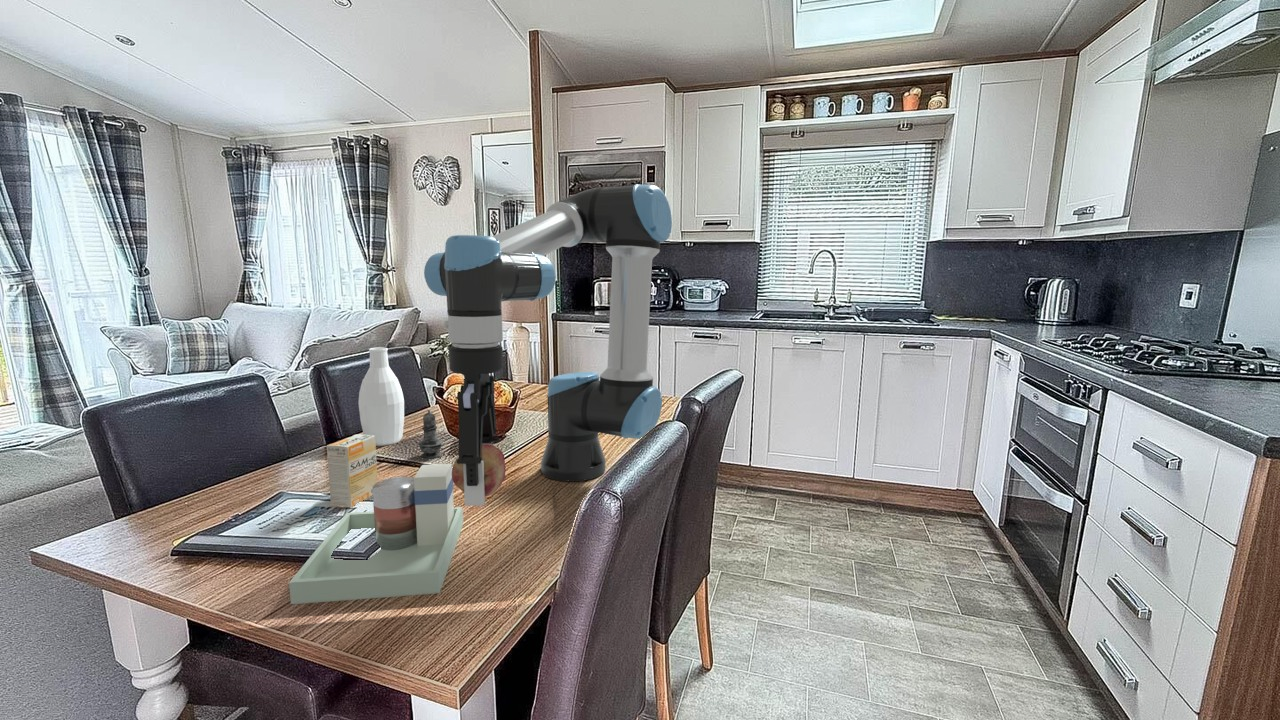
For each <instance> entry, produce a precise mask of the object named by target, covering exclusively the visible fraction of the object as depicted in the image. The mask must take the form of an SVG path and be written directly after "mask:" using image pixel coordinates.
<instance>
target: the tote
mask: <svg viewBox="0 0 1280 720" xmlns="http://www.w3.org/2000/svg"><path fill="white" fill-rule="evenodd" d="M463 512H464V511H463V506H457V507H455V506H454V519H453V522H452V524H451V527H450V529H449V532H448V535H447V537H446V540H445V543H444V544H441V545H425V546H417V543H416V544H414V545H412V546H410V547H408V548H404V549H400V550H382V549H381V550H380V551H379V552H378V553H376V554H375V555H374V556H372V557H371V558H369V559H368V560H343V559H334V558H331V555H332V553H333V551H334V549H335V548H336V547H337V545H339V543H340V542H341V541H342V539H343V538H344V537H345V536H346V535H347V534H348V533H349V531H350V530H351V529H361V528H375V521H374V511H361V512H360V511H359V512H357V511H356V512H347V513H345V515H344V516H343V517H342V518H341V519H340V520H339V522H338V523H337V524H336V525H335V526H334V527H333V529H331V531H330V533H329V534H328V535H327V536H326V538H325V539H324V540H323V541H322V542H321V544H320V545H319V546H318V547H317V548H316V550H315V551H314V552H313V553H312V554H311V555H310V556H309V558H308V559H307V560H306V562H305V563H304V564H303V565H302V566H301V567H300V569H299V570H298V571H297V572H296V574H295V575H294V576H293V577H292V578H291V580H290V581H289V582H288V587H289V598H290V605H300V604H303V605H304V604H312V603H314V604H316V603H327V602H339V601H340V602H342V601H351V600H352V601H354V600H365V599H368V600H369V599H381V598H394V597H407V596H409V597H410V596H419V595H421V596H422V595H430V594H431V595H434V594H441V591H442V588H443V585H444V582H445V580H446V576H447V573H448V570H449V567H450V565H451V561H452V558H453V556H454V553H455V549H456V546H457V544H458V540H459V538H460V535H461V532H462V529H463V525H464V513H463Z"/></svg>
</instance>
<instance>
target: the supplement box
mask: <svg viewBox="0 0 1280 720" xmlns="http://www.w3.org/2000/svg"><path fill="white" fill-rule="evenodd" d="M376 447H377V446H376V444H375V436H374V435H364V434H360V433H358V434H353V435H352V436H349V437H345V438H343V439H341V440H340V439H339V440H337V441H336V442H333V443H329V444H327V445H326V451H327V452H326V454H327V455H326V456H327V468H328V470H327V471H328V483H329V496H330V497H329V498H330V506H331V507H334V506H343V507H342V508H344V507H352V506H354V505H356V504H357V503H359V502H361V501H362V502H364V501H366V500H368V499H369V498H371V497H373V496H372V495H373V485H374V484H376V483H377V482H378V468H377V464H378V463H377V449H376ZM370 496H371V497H370ZM367 498H368V499H367ZM365 499H366V500H365ZM363 500H364V501H363ZM362 502H361V503H362ZM359 504H360V503H359ZM357 505H358V504H357ZM357 505H356V506H357ZM354 507H355V506H354ZM352 508H353V507H352Z"/></svg>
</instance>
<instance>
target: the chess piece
mask: <svg viewBox="0 0 1280 720" xmlns="http://www.w3.org/2000/svg"><path fill="white" fill-rule="evenodd" d="M422 418H423V419H422V420H423V427H422V428H421V429H422V432H423V439H422V440H420V441H419V442H417V445H418V447H419V449H420V451H421V452H422V454H421V456H419V458H420V457H421V458H423V459H422V460H425V459H431V460H435V459H434V458H437V459H439V458H438V457H440V456H441V457H442V456H443V453H441V452H440V450H441V448H442V446H443V442H444V440H442V439H440V438H438V436H437V429H438V426H437V425H436V424H437V423H436V422H437V421H436V415H435V414H434V413H432V412H431V410H430V409H428V410H427V413H424V415H423V417H422ZM441 457H440V458H441ZM421 458H420V459H421Z"/></svg>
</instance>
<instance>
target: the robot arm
mask: <svg viewBox="0 0 1280 720" xmlns="http://www.w3.org/2000/svg"><path fill="white" fill-rule="evenodd" d="M672 218H673V217H672V211H671V207H670V203H669V200H668V199H667V196H666V195H665V193H664V191H663V190H662V189H661V188H660V187H658V186H656V185H652V184H639V183H636V184H629V185H628V184H627V185H618V186H606V187H605V186H604V187H603V186H600V187H599V186H598V187H593V188H589V189H585V190H583V191H580V192H578V193H575V194H572V195H570V196H568V197H565V198H563V199H561V200H559V201H557V202H554V203H552V204H551V205H550V206H548V208H547V210H546V211H545V213H542V214H540V215H538V216H536V217H533V218H530V219H528V220H525V221H523V222H521V223H519V224H517V225H515V226H512V227H510V228H508V229H506V230H503V231H501V232H499V233H497V234H494V235H492V236H491V235H475V234H467V235H466V234H464V235H463V234H458V235H451V236H449V237H448V238H447V239H446V241H445V245H444V246H445V248H444V251H443V252H437V253H434V254H432V255H431V256H430V257H429V258H428V259H427V260H426V263H425V265H424V271H423V274H424V275H423V276H424V279H425V283H426V285H427V287H428V289H430V292H432V293H434V294H435V295H438V296H442V297H446V307H447V320H446V321H444V323H443V326H444V327H445V328H447V329H448V330H447V331H448V334H447V335H448V342H449V343H451V344H452V345H451V346H449V348H448V361H449V362H448V365H449V367H448V368H449V371H451V372H452V373H454V374H457V375H458V374H460V375H462V376H463V377H464V378H463V384H462V385H460V392H458V393H457V395H456V400H457V407H458V408H457V409H458V457H459V458H458V457H457V458H458V459H457V458H456V460H457V464H463V472H464V492H463V495H464V506H465V507H467V506H468V507H469V506H472V507H473V506H475V507H476V506H479V507H481V506H484V505H485V504H486V497H485V490H484V461H482V444H488V445H493V446H495V443H498V442H499V440H500V436H499V435H496V434H497V432H498V430H497V422H496V403H495V376H494V375H490V374H494V373H497V372H500V371H502V369H503V368H504V361H503V360H504V357H503V353H504V352H503V351H504V350H503V346H502V345H501V344H499V343H501V342H502V341H503V340H504V339H503V338H504V337H503V314H502V303H503V302H512V301H513V302H515V301H529V302H530V301H531V302H533V301H535V300H539V299H544V298H546V297H548V295H550V294H551V292H552V291H553V290H554V287H555V285H556V270H555V267H554V265H553V262H552V261H550V259H549V258H548V257H546V256H547V255H548V254H551V253H552V252H554V251H557V250H558V249H560V248H562V247H565V248H572V247H574V246H577V245H578V244H582V243H605V249H606V251H607V252H608V253H609V255H610V256H611V257H612V258H611V280H610V299H609V300H610V302H609V322H608V323H609V327H608V329H609V330H608V346H607V348H608V349H607V367H606V369H605V370H604V371H603V372H601V374H600V376H599V373H598V372H596V371H580V372H569V373H565V374H564V373H563V374H559V375H556V376H554V377H552V378H550V380H549V381H548V385H547V395H546V397H547V421H548V422H547V425H548V426H547V428H548V430H547V431H548V434H547V436H548V438H547V443H546V444H545V445H546V446H545V449H544V451H543V454H542V457H541V461H540V462H541V463H540V472H541V474H542V475H543V476H544V477H546V478H548V479H551V480H554V481H560V482H579V481H580V482H581V481H588V480H593V479H594V478H598V477H600V476H601V475H603V474H604V473H605V472H606V458H605V454H604V451H603V449H602V446H601V443H600V440H599V439H600V438H599V434H605V435H610V436H615V437H616V436H617V437H620V438H623V439H635V440H641V439H640V438H641V437H643V436H644V435H645V434H646V433H647V432H648V431H650V430H651V429H653V428H654V429H655V427H656V426H657V424H658V421H659V419H660V417H661V411H662V406H663V397H662V392H661V390H660V389H659V388H657V387H655V386H653V382H654V377H653V375H652V374H651V373H650V372H649V371H648V369H647V367H648V346H649V345H648V344H649V329H650V310H651V308H650V307H651V293H652V292H651V289H652V287H651V286H652V272H653V271H652V270H653V269H652V267H653V259H654V258H655V257H656V256H657V255H658V254H659V253H660V251H661V243H664V242H665V241H667V240H668V239H669V238H670V235H671V233H672V227H673V219H672ZM654 429H653V430H654Z"/></svg>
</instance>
